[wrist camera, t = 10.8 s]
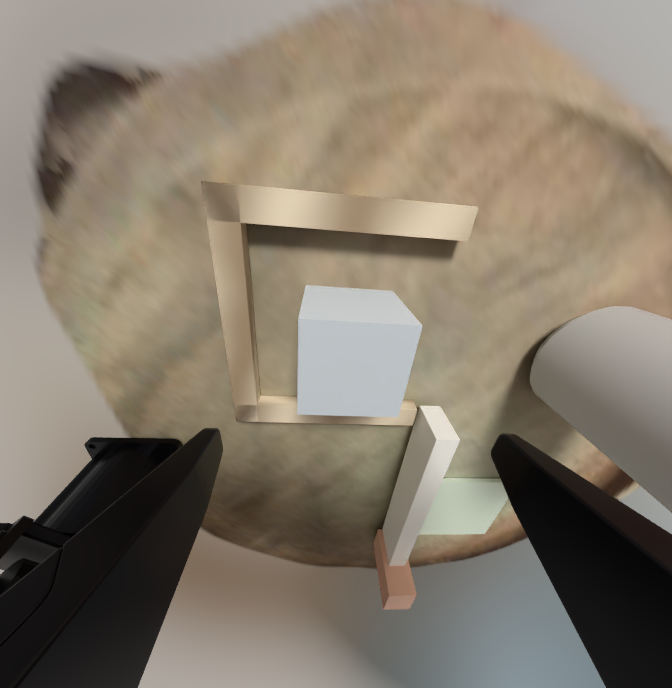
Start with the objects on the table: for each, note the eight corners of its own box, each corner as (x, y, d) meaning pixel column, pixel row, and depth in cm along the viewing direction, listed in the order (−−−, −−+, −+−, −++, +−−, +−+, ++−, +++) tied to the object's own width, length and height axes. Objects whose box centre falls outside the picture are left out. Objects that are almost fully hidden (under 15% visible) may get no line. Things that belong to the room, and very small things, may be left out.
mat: (403, 530, 27) (404, 534, 27) (423, 477, 23) (424, 482, 22) (482, 529, 28) (484, 533, 27) (516, 478, 24) (519, 482, 23)
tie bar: (373, 544, 27) (383, 609, 23) (413, 405, 18) (443, 469, 13) (395, 544, 27) (409, 608, 23) (446, 406, 18) (485, 469, 14)
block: (304, 359, 17) (297, 414, 12) (305, 284, 14) (298, 318, 10) (378, 363, 17) (398, 417, 12) (392, 290, 15) (422, 325, 10)
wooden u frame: (240, 411, 18) (236, 421, 17) (210, 183, 12) (200, 180, 11) (408, 415, 19) (412, 425, 18) (467, 207, 13) (478, 206, 12)
